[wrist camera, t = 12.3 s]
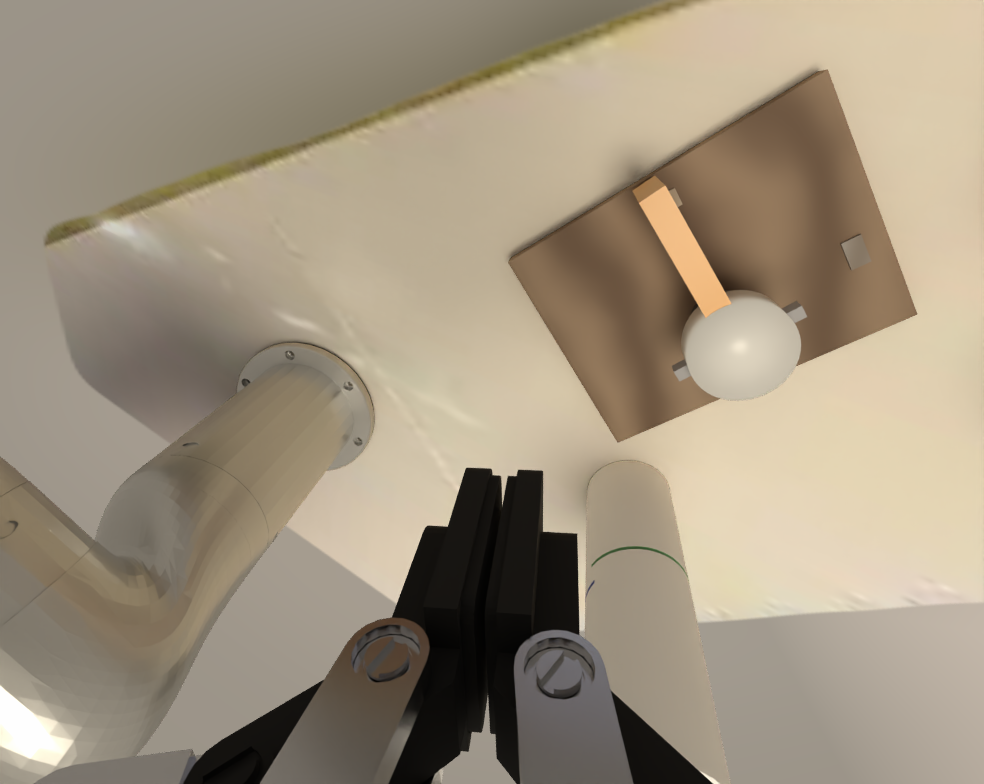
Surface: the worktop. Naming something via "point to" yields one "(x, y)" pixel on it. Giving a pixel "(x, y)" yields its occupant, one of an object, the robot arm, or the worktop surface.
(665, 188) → the cap
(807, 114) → the post base
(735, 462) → the worktop surface
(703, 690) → the cylindrical container
